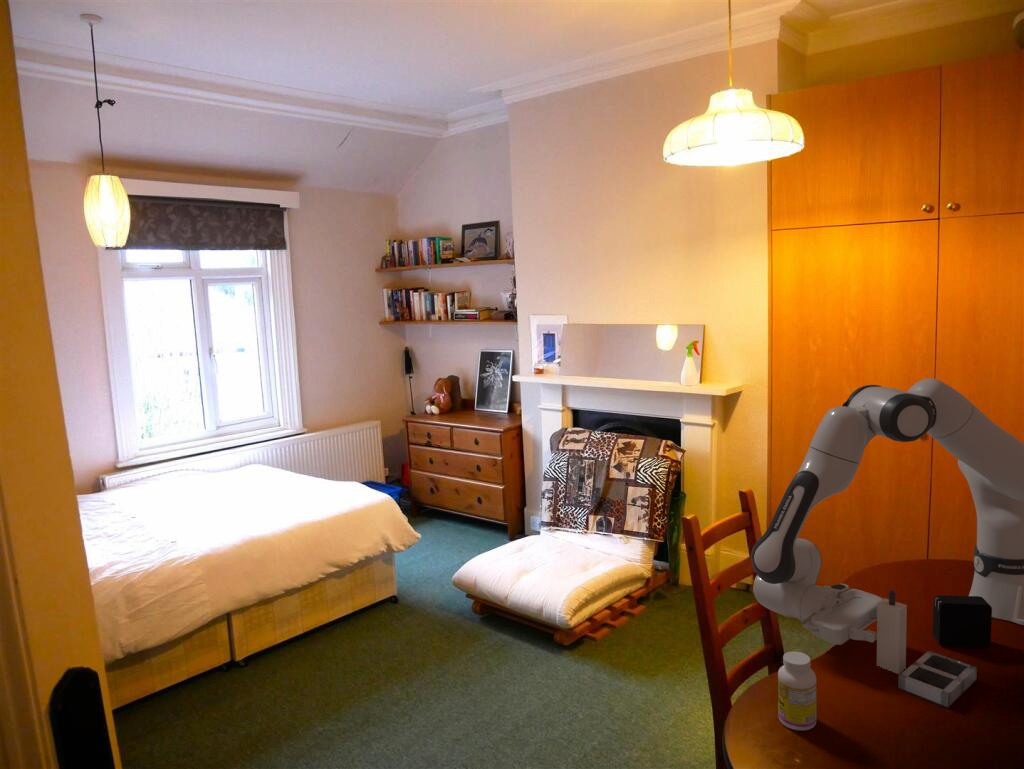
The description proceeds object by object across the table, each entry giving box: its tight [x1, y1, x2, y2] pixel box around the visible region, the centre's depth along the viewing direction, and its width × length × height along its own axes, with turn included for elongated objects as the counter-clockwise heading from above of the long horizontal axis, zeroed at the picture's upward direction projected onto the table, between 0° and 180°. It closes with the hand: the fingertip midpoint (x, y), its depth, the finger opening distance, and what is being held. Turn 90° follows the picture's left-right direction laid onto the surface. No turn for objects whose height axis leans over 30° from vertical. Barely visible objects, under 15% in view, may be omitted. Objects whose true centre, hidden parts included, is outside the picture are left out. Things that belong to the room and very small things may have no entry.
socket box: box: [897, 650, 978, 709], centre depth 145 cm, size 9×14×3 cm, turn 128°
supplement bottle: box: [777, 651, 817, 732], centre depth 136 cm, size 7×7×13 cm
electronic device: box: [932, 594, 993, 650], centre depth 159 cm, size 4×10×10 cm, turn 79°
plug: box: [876, 589, 908, 675], centre depth 151 cm, size 4×3×17 cm, turn 38°
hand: (886, 629), depth 152 cm, fingers open, 8 cm apart
